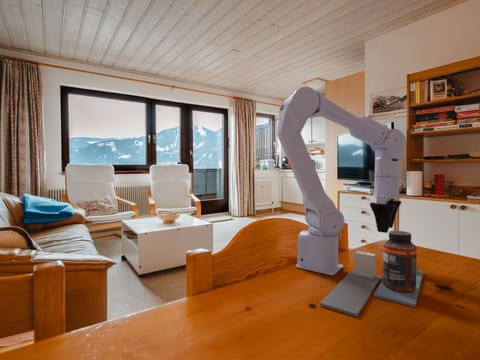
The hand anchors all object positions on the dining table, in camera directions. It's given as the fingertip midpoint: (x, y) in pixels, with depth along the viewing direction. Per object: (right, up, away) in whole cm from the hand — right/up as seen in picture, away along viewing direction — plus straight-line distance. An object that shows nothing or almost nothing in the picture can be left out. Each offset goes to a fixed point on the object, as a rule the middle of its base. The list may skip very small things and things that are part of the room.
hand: (385, 229), depth 71 cm
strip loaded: (-3, -10, -11) cm, 15 cm away
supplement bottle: (-5, -9, -15) cm, 18 cm away
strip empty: (-14, -10, -15) cm, 23 cm away
